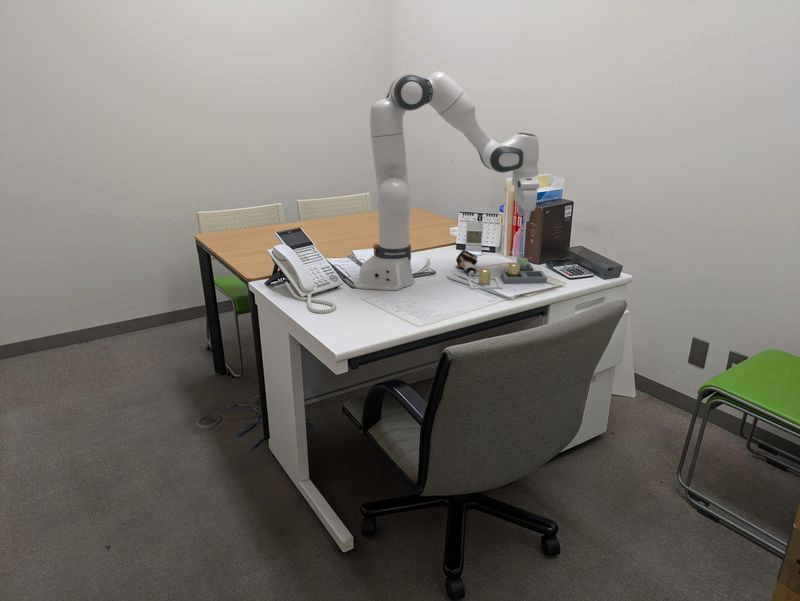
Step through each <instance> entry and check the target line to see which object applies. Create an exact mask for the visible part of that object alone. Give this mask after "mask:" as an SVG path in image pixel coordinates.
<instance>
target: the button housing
mask: <svg viewBox="0 0 800 601" xmlns="http://www.w3.org/2000/svg"><path fill="white" fill-rule="evenodd" d="M519 271H534V267H533V265H532V264H531V263H530V262H528V263H527V268H520V269H519Z"/></svg>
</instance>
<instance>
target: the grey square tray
mask: <svg viewBox="0 0 800 601" xmlns="http://www.w3.org/2000/svg"><path fill="white" fill-rule="evenodd" d="M471 279H479V276H478V277H473V276H472V277H466V280H467V283H468V285H469V289H470V290H503V286H502V283H501V282H500V280H499V278H498V277H497V276H490V281H493V280H494V282H495V284H496V285H497V286H490V285H488V286H474V284H473V282H472V280H471Z"/></svg>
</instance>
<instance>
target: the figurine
mask: <svg viewBox="0 0 800 601" xmlns="http://www.w3.org/2000/svg"><path fill="white" fill-rule="evenodd" d="M477 259H478V256H477V255H476V254H474V253H471V252H469V251H468V250H465V249H463V250H461V252H460V253H459V254H458V255H457V257H456V260H455V262H456V263H457V266H458V267H459V268H461V269H463V270H464V271H465V272H466V274H467V277H468V276H472V277H473V276H478V277H479V269H478V268H477V267H476V266H475V265H476V264H477V263H478V260H477ZM476 271H477V272H476Z"/></svg>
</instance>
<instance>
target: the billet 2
mask: <svg viewBox="0 0 800 601" xmlns="http://www.w3.org/2000/svg"><path fill="white" fill-rule="evenodd" d="M519 269H520V264H519V263H517V262H514V261H513V262H512V261H511V262H508V267H507V271H508V277H519Z"/></svg>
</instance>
